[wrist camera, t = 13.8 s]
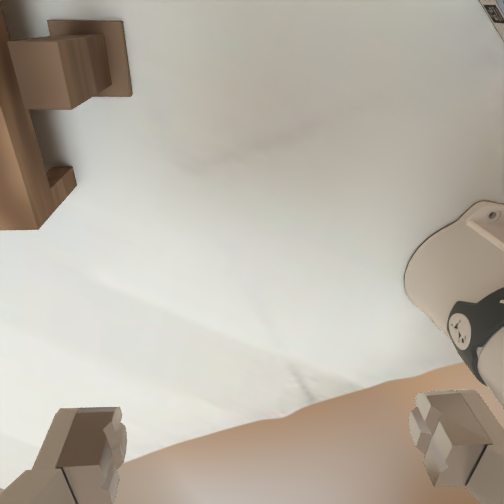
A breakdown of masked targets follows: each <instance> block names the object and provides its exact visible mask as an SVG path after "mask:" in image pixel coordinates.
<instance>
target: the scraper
mask: <svg viewBox="0 0 504 504" xmlns="http://www.w3.org/2000/svg"><path fill="white" fill-rule="evenodd" d="M47 23H48V27H49V32H50V36H48V37H39V38H30V39H22V40H13V41H7V44H8V48H9V51H10V55H11V59H12V63H13V66H14V70H15V74H16V77H17V81H18V85H19V88H20V92H21V96H22V100H23V103H24V107H25V109H37V110H72V109H73V108H75V107H77V106H78V105H80V104H81V103H83V102H85V101H86V100H88V99H90V98H91V97H131V96H132V88H131V80H130V73H129V65H128V58H127V50H126V43H125V35H124V28H123V21H75V20H47Z"/></svg>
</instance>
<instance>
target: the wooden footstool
mask: <svg viewBox="0 0 504 504" xmlns="http://www.w3.org/2000/svg"><path fill="white" fill-rule="evenodd" d="M7 41H10V39H9V35H8V32H7V28H6V24H5V21H4V17H3V13H2V10H1V6H0V230H38V229H39V228H40V227H41V226H42V225H43V224H44V222H45V221H46V220H47V219H48V218H49V217H50V216H51V214H52V213H53V212H54V211H55V210H56V209H57V208H58V206H59V205H60V204H61V203H62V202H63V201H64V200H65V198H66V197H67V196H68V195H69V194H70V193H71V192H72V190H73V189H74V188H75V187H76V186H77V184H76V179H75V175H74V171H73V167H52V168H51V169H50V170H49V171H48V172H47V173H46V171H45V167H44V164H43V160H42V156H41V153H40V149H39V145H38V142H37V138H36V134H35V131H34V127H33V123H32V120H31V116H30V112H29V109H25V107H24V103H23V100H22V96H21V92H20V88H19V85H18V81H17V77H16V74H15V70H14V66H13V63H12V59H11V55H10V51H9V48H8V44H7Z"/></svg>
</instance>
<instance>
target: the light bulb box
mask: <svg viewBox="0 0 504 504" xmlns="http://www.w3.org/2000/svg"><path fill="white" fill-rule="evenodd" d="M479 1H480V2H481V4H482V6H483V7H484V9H485V11H486V12H487V14H488V16H489V17H490V19H491V21H492V22H493V24H494V25H495V27H496V29H497V31H498V32H499V34H500V36H501V37H502V39H503V41H504V0H479Z"/></svg>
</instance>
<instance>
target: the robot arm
mask: <svg viewBox="0 0 504 504" xmlns="http://www.w3.org/2000/svg"><path fill="white" fill-rule="evenodd" d="M492 212H493V213H492ZM490 213H492V214H491V215H490ZM489 215H490V216H489ZM404 283H405V290H406V293H407V296H408V298H409V299H410V301H411V302H412V303H413V304H414V305H415V306H416V307H418V308H419V309H420V310H422V311H423V312H424V313H425V314H426V315H427V316H428V317H429V318H430V319H431V320H432V321H433V323H434V324H435V325H436V326H437V327H438V329H440V330H442V331H443V332H444V333H445V334H446V335H447V336H448V337H449V338H450V339H451V340H452V342H453V344H454V346H455V348H456V350H457V351H458V353H459V355H460V356H461V358H462V359H463V360H464V362H465V363H466V365H467V366H468V367H469V368H470V370H471V372H472V373H473V375H475V376H476V378H477V379H478V380H479V381H480V382H481V383H482V384H484V385H486V386H488V387H489V389H490V391H491V392H492V393H493V395H494V396H495V398H496V399H497V400H498V402H499V403H500V404H501V406H502V407H503V409H504V205H503V204H498V203H492V202H486V201H482V202H478V203H476V204H475V205H473V206H472V207H471V208H470V209H469V210H468V211H467V212H466V213H465V214H464V215H463V216H462V217H461V218H460V219H459V220H458V221H456V222H455V223H453V224H451V225H449V226H447V227H446V228H444V229H442V230H440V231H439V232H437V233H436V234H434V235H433V236H431V237H430V238H429V239H428V240H426V241H425V242H424V243H423V244H422V245H421V246H420V247H419V249H418V250H417V251H416V252H415V254H414V255H413V257H412V258H411V260H410V262H409V264H408V267H407V270H406V273H405V281H404ZM415 402H416V404H417V406H418V407H416V408H415V409H414V410H413V411H411V415H410V418H409V426H410V432H411V436H412V439H413V441H414V444H415V446H416V447H417V448H418V449H419V450H420V451H422V452H423V453H424V454H425V456H424V460H423V464H424V466H425V468H426V471H427V473H428V475H429V477H430V479H431V482H432V484H433V486H434V487H458V486H459V487H461V486H466V489H467V490H468V491H469V492H470V493H471V494H472V495H473V496H474V497H475V498H476V499H477V500H478V501H479V502H480V503H481V504H504V429H503V428H502V426H501V425H500V424H499V422H498V421H497V419H496V418H495V416H494V415H493V413H492V412H491V411H490V409H489V407H488V406H487V405H486V403H485V402H484V400H483V399H482V397H481V396H480V394H479V393H478V392H477V391H475V390H456V391H454V390H446V391H430V392H420V393H419V394H417V396H416V399H415ZM121 418H122V412H121V409H120V407H93V408H61V409H60V410H59V411H58V412H57V413H56V414H55V416H54V419H53V421H52V423H51V426H50V428H49V430H48V433H47V435H46V437H45V440H44V442H43V444H42V447H41V449H40V451H39V454H38V456H37V459H36V461H35V463H34V466H33V468H32V470H25V471H24V472H23V473H22V474H21V475H20V476H19V477H18V478H17V479H16V480H15V481H13V482H12V483H11V484H10V485H9V486H8V487H7V488H6V489H5V490H4V491H3V492H2V493H1V494H0V504H114V502H115V498H116V493H117V489H118V485H119V480H120V479H119V475H118V472H117V469H118V468H119V467H120V466H121V465H122V464H123V463H124V458H125V454H126V445H127V433H126V428H125V425H123V424H122V423H121Z"/></svg>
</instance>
